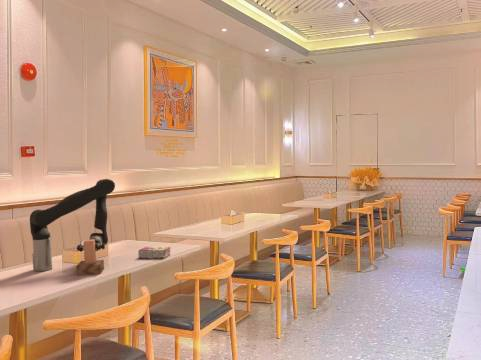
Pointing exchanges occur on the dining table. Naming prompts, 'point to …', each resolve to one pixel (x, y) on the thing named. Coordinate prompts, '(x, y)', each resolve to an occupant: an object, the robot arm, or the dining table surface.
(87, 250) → the terracotta block
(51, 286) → the dining table surface
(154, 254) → the candy bar box
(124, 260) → the dining table surface
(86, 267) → the walnut block
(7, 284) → the dining table surface
